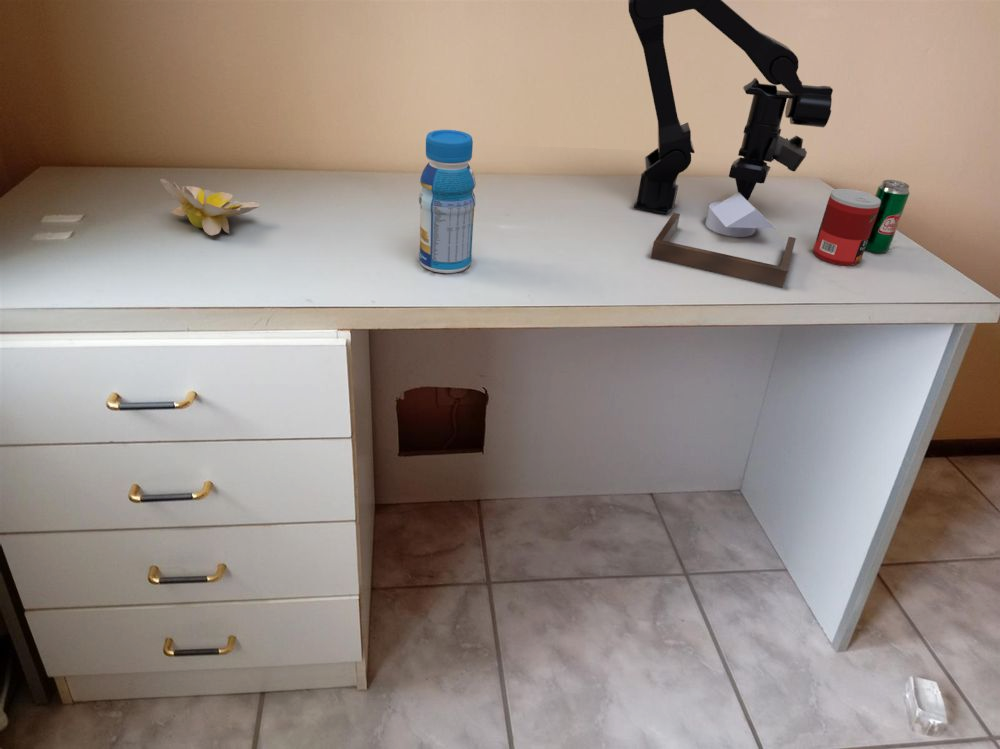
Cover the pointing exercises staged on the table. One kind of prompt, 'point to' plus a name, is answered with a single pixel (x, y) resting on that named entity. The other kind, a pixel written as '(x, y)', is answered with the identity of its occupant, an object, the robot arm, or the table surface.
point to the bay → (719, 258)
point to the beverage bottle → (447, 202)
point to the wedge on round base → (735, 217)
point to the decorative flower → (206, 207)
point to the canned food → (846, 226)
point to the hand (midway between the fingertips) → (743, 204)
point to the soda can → (887, 214)
